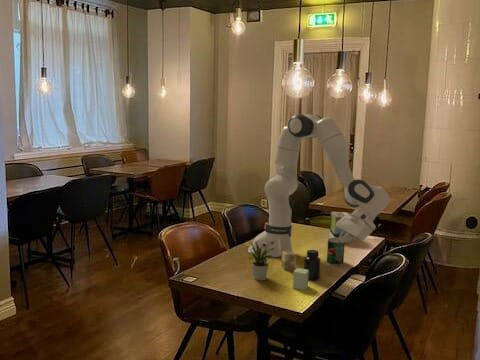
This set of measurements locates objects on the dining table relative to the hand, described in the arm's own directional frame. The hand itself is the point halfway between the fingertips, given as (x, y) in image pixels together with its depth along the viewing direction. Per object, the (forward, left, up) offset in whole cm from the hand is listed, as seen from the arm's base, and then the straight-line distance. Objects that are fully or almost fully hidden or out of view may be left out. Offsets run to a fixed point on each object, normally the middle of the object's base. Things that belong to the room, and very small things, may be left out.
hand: (339, 241), depth 207 cm
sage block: (-15, -18, -16) cm, 28 cm away
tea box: (+2, +62, -16) cm, 64 cm away
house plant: (-34, -12, -16) cm, 39 cm away
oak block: (-22, +5, -16) cm, 28 cm away
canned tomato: (-1, +19, -16) cm, 25 cm away
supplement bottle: (-11, -6, -16) cm, 20 cm away
